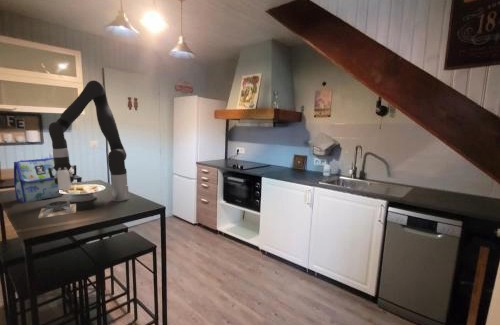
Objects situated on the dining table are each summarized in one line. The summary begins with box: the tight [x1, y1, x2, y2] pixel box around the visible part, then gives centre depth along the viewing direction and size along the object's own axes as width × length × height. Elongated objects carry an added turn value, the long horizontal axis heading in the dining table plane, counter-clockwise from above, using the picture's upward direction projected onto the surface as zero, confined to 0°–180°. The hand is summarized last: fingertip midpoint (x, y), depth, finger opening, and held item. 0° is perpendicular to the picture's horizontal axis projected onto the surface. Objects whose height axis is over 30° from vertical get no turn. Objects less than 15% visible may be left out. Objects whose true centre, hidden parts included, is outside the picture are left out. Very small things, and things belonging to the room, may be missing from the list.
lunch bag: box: [13, 157, 64, 204], centre depth 165 cm, size 22×17×26 cm
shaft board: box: [37, 203, 77, 219], centre depth 141 cm, size 16×18×2 cm
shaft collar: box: [42, 200, 72, 216], centre depth 141 cm, size 12×17×3 cm
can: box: [57, 169, 73, 191], centre depth 154 cm, size 6×6×12 cm
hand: (64, 183), depth 154 cm, fingers closed on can, 6 cm apart
